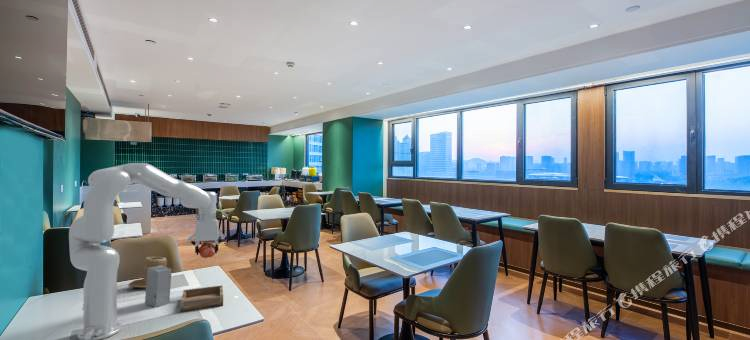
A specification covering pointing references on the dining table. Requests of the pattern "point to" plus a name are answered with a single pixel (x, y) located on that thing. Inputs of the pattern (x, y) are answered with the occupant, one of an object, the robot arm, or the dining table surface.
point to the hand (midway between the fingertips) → (206, 253)
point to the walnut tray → (201, 298)
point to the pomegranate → (207, 250)
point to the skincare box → (158, 286)
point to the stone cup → (147, 263)
